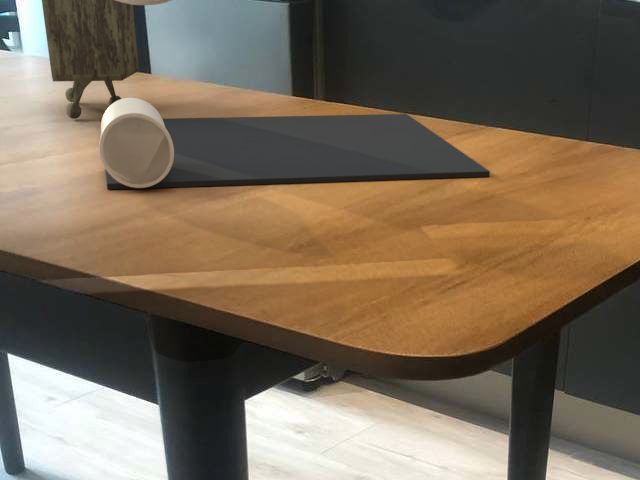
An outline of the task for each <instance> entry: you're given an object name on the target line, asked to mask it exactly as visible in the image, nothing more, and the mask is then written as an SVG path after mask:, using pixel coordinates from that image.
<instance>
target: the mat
mask: <svg viewBox="0 0 640 480" xmlns="http://www.w3.org/2000/svg"><path fill="white" fill-rule="evenodd" d="M162 119H163V122H164V125H165V128H166V130H167V131H168V133H169V135H170V137H171V139H172V142H173V147H174V160H173V164H172V167H171V169H170V171H169V172H168V174H167V175H166V176H165V178H163V179H162V180H161V181H160V182H158V183H157V184H155V185H153V186H150V187H145V188H144V189H165V188H169V189H170V188H194V187H195V188H197V187H198V188H199V187H221V186H222V187H225V186H253V185H284V184H285V185H286V184H287V185H288V184H310V183H311V184H316V183H342V182H343V183H344V182H345V183H346V182H371V181H373V182H374V181H375V182H376V181H399V180H400V181H403V180H404V181H405V180H432V179H461V178H462V179H463V178H489V177H490V173H491V172H490V170H489V169H487V168H486V167H484V166H483V165H481V164H480V163H478V162H477V161H475V160H474V159H473V158H471V156H469V155H467V154H465V153H464V152H462V151H461V150H460V149H458V148H457V147H455V146H454V145H452V144H451V143H449V142H448V141H446V140H445V139H444V138H443V137H441V136H440V135H438V134H436V133H435V132H434V131H432V130H431V129H429V128H428V127H426V126H425V125H423V124H422V123H421V122H419V121H417V120H416V119H415V118H414V117H412V116H410V115H409V114H407V113H390V114H388V113H385V114H384V113H383V114H334V115H327V114H326V115H279V116H277V115H276V116H275V115H274V116H232V117H231V116H230V117H229V116H227V117H224V116H223V117H222V116H221V117H177V118H176V117H175V118H171V117H169V118H162ZM99 121H100V124H101V121H102V119H100V120H99ZM104 171H105V172H104V173H105V180H106V188H107V190H111V191H112V190H135V189H136V190H138V189H139V190H140V189H142V188H134V187H129V186H126V185H124V184H121V183H120V182H118V181H117V180H115V179H114V178H113V177H112V176H111V175H110V174H109V173H108V172H107V170H106V169H105V168H104Z"/></svg>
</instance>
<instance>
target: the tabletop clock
mask: <svg viewBox="0 0 640 480" xmlns="http://www.w3.org/2000/svg"><path fill="white" fill-rule="evenodd" d="M41 4H42V5H41V6H42V12H43V20H44V27H45V35H46V42H47V43H46V44H47V50H48V58H49V65H50V73H51V78H52V82H73V84H72V87H69V88H67V89H66V90H65V94H64V95H65V99H66V100H67V101H68V102H69V104H67V105H66V107H65V112H66V115H67V116H68V117H69V118H70V119H73V120H75V119H79V118H80V117H81V115H82V112H83V111H82V108H81V106H80V105H79V104H80V101H81V99H82V96H83V95H84V92H85V89H87V87H88V86H89V85H90V84H91V83H92V82H104V84H105V86H106V88H107V90H108V92H109V95H110V98H109V99H108V105H109V106H110V105H111V104H113V103H114V102H116V101H118V100H120V99H122V97H120V95H116V90H115V87H114V83H113V82H120V81H121V82H122V81H125V80H126V79H128V78H130V77H131V76H133V75H134V74H136V73H138V72H139V59H138V58H139V57H138V46H137V35H136V34H137V33H136V24H135V13H134V5H131V4H126V3H121V2H118V1H115V0H41ZM72 102H73V103H72Z"/></svg>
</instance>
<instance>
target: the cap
mask: <svg viewBox="0 0 640 480" xmlns="http://www.w3.org/2000/svg"><path fill="white" fill-rule="evenodd" d="M163 119H164V118H162V116H161V114H160V112H159V111H158V110H157V109H156V108H155V107H154V105H153V104H151V103H150V102H147V101H146V100H144V99H141V98H137V97H123V98H121V99H120V100H118V101H116V102H114V103H113V104H111V105H109V106H108V107H107V108H106V109H105V111H104V113H103V115H102V118H101V120H102V121H101V123H100V137H99V144H98V151H99V157H100V160H101V163H102V165H103V167H104V170H105V169H106V170H107V172H108V173H109V174H110V175H111V176H112V177H113V178H114V179H115V180H117V181H118V182H120V183H121V184H124V185H126V186H129V187H134V188H141V189H146V188H145V187H150V186H153V185H155V184H157V183H158V182H160V181H161V180H162V179H163V178H165V176H166V175H167V174H168V172H169V171H170V169H171V167H172V164H173V160H174V147H173V142H172V139H171V137H170V135H169V133H168V131H167V130H166V128H165V125H164V122H163Z"/></svg>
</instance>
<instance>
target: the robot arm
mask: <svg viewBox="0 0 640 480" xmlns="http://www.w3.org/2000/svg"><path fill="white" fill-rule="evenodd" d="M115 1H118V2H121V3H126V4H131V5H133V6H157V5H162V4H167V3H169V2H172V1H173V0H115Z"/></svg>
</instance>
